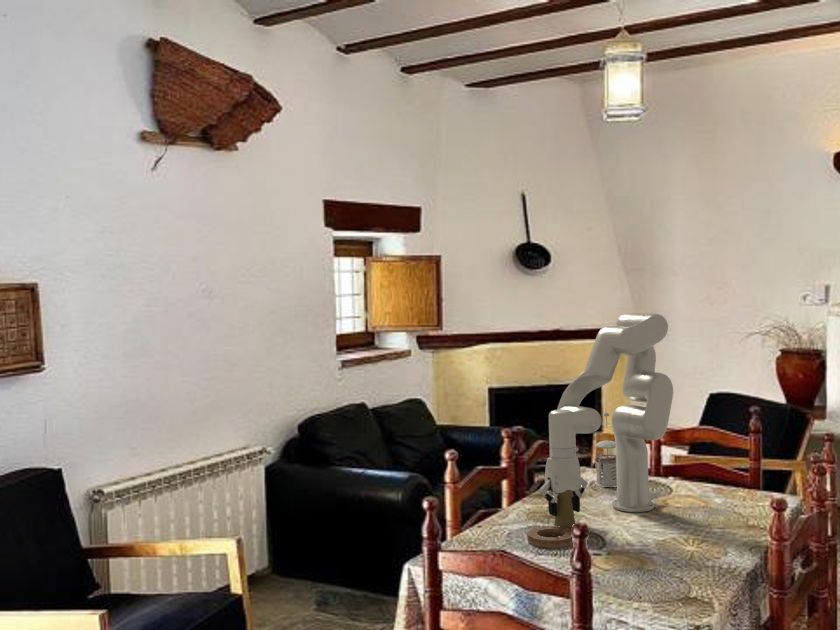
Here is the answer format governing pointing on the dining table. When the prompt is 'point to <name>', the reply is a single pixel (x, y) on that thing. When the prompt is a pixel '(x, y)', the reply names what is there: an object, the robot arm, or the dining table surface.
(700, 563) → the dining table surface
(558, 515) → the cork
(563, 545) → the bead ring
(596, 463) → the french press
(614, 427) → the robot arm
